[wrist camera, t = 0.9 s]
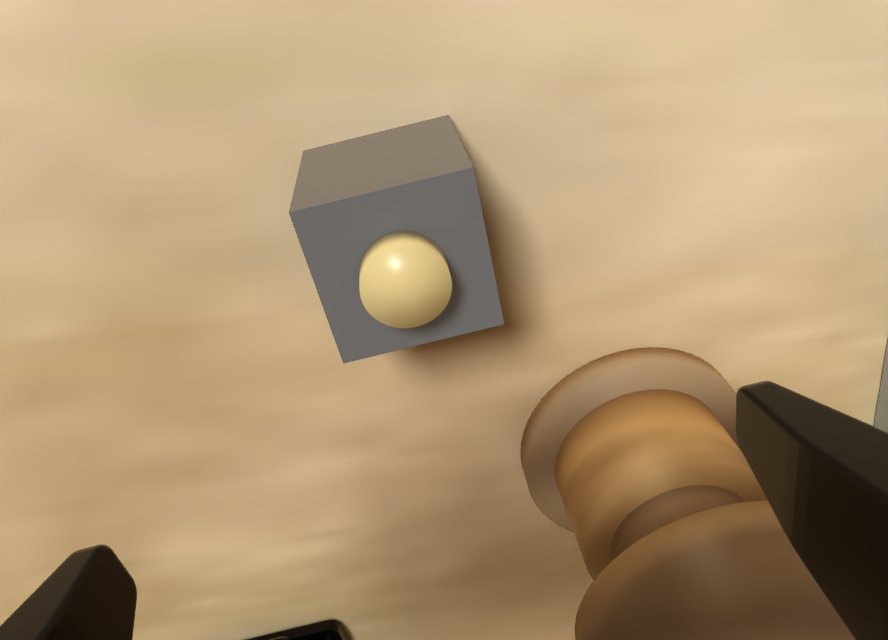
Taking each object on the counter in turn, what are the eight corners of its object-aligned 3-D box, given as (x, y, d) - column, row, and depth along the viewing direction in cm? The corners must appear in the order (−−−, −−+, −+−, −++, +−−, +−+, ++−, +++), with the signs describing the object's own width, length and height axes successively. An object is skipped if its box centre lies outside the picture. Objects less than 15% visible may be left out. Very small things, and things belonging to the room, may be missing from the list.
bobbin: (733, 489, 26) (864, 686, 20) (536, 537, 27) (599, 749, 20) (736, 323, 22) (904, 498, 15) (504, 379, 22) (569, 579, 16)
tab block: (475, 246, 20) (511, 342, 15) (346, 278, 20) (342, 382, 15) (448, 114, 18) (479, 179, 13) (303, 150, 18) (285, 227, 13)
